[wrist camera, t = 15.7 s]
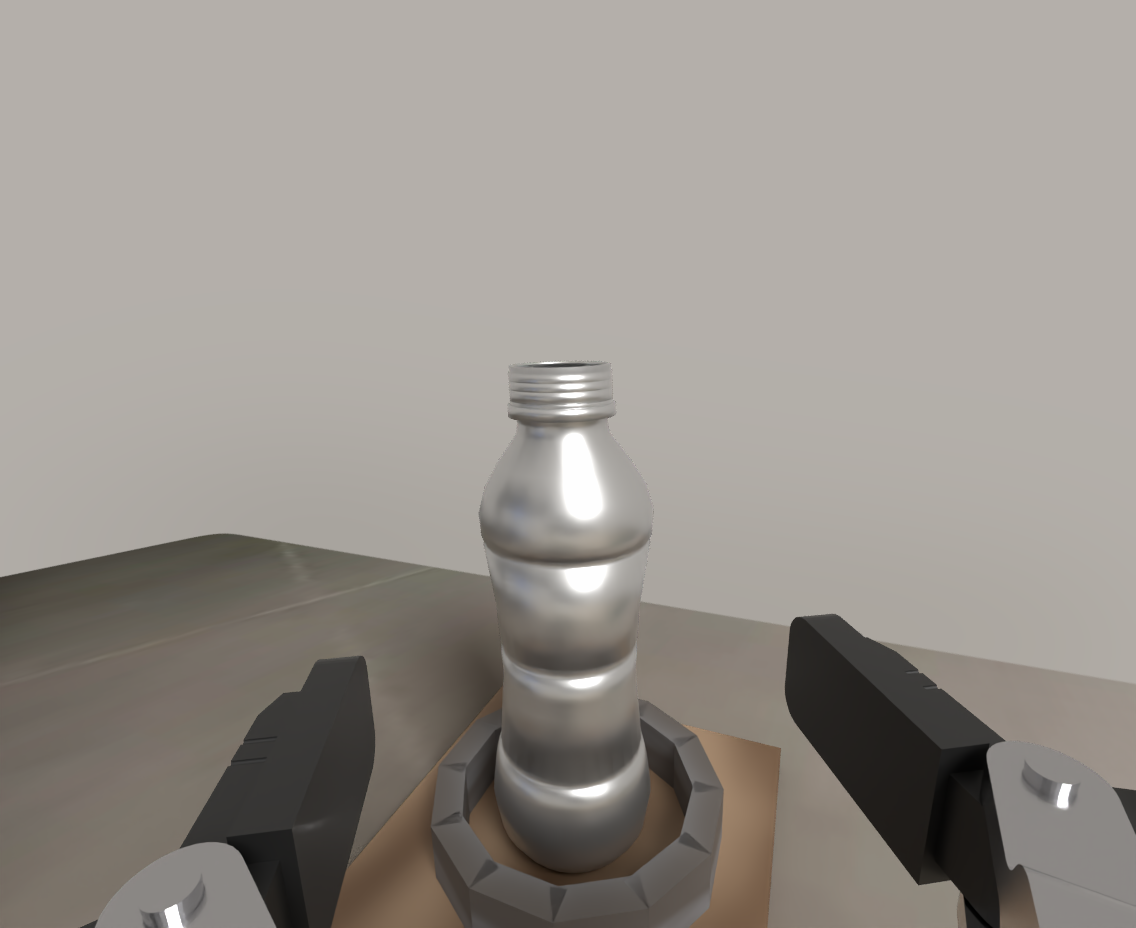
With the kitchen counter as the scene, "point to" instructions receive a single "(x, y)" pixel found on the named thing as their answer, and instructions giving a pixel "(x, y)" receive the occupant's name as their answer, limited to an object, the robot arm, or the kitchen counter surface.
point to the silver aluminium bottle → (568, 619)
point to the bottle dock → (577, 900)
